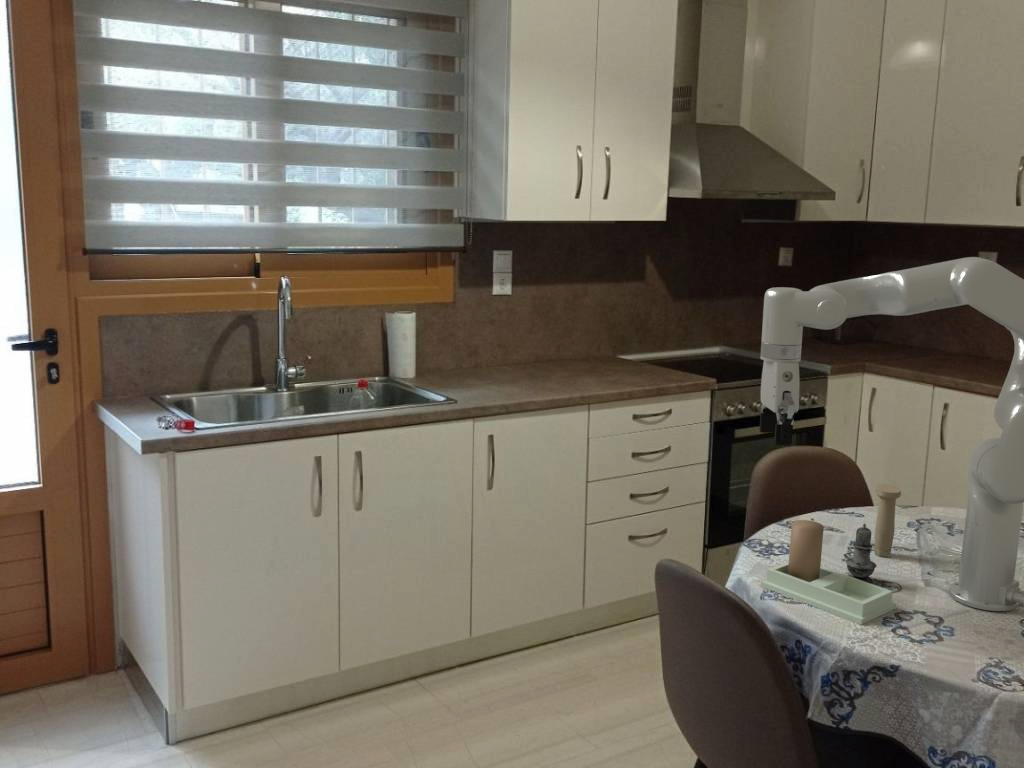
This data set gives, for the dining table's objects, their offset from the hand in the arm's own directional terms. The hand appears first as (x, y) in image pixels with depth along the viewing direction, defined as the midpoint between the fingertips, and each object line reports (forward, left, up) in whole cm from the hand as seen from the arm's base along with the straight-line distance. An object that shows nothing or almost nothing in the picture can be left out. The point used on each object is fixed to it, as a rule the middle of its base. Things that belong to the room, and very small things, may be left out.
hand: (775, 438), depth 195 cm
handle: (-7, -32, -29) cm, 44 cm away
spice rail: (-13, -2, -29) cm, 32 cm away
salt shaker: (-12, -15, -29) cm, 35 cm away
